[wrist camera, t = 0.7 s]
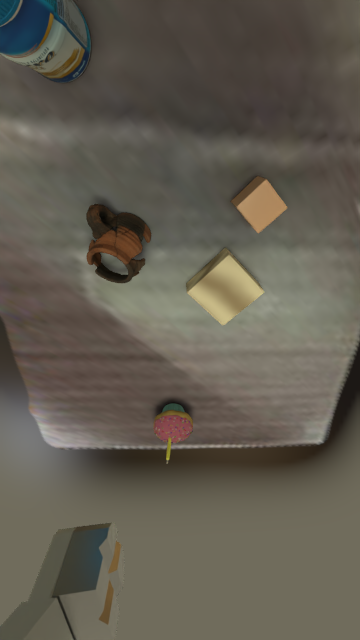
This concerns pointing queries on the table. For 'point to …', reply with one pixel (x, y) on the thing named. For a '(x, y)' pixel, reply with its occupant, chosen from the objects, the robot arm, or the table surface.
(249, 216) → the terracotta cube
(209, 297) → the beech block
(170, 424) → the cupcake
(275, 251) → the table surface
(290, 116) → the table surface
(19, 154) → the table surface
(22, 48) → the vitamin bottle
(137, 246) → the brown rounded piece
